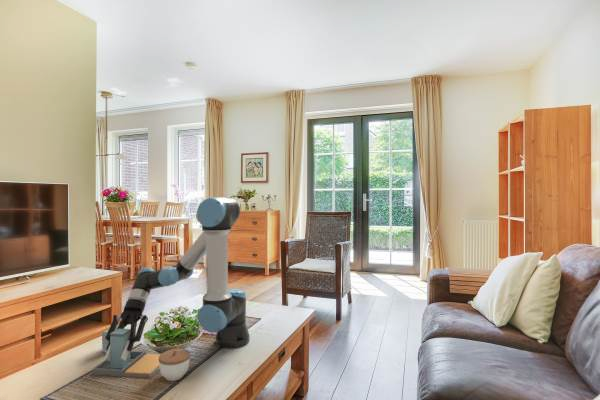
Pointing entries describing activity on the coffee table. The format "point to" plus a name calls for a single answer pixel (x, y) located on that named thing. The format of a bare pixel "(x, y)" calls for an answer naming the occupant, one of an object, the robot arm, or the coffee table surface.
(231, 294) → the robot arm
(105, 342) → the medicine box
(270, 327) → the coffee table surface
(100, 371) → the shallow grey tray
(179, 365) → the lidded jar
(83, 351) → the coffee table surface
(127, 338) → the block
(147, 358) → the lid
